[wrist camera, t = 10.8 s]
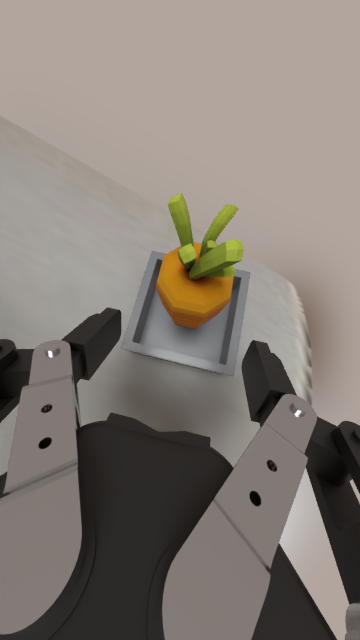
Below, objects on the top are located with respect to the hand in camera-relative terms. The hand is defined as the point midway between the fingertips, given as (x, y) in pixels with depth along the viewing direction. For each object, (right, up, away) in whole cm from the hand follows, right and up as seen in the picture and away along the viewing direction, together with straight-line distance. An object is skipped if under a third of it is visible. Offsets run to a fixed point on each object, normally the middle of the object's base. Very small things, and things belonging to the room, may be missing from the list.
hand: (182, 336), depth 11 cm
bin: (+1, +1, +11) cm, 11 cm away
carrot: (+1, +1, +10) cm, 10 cm away
